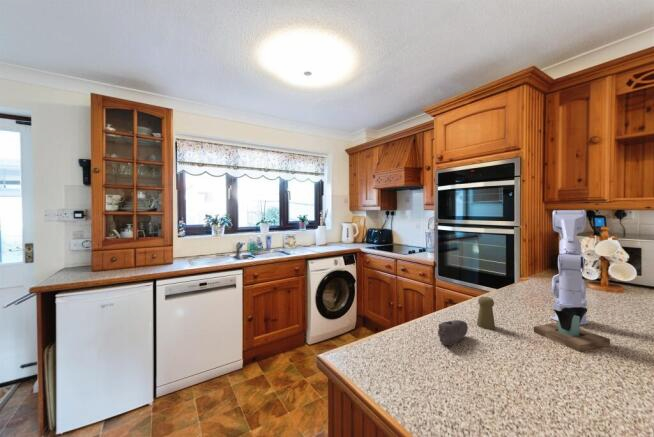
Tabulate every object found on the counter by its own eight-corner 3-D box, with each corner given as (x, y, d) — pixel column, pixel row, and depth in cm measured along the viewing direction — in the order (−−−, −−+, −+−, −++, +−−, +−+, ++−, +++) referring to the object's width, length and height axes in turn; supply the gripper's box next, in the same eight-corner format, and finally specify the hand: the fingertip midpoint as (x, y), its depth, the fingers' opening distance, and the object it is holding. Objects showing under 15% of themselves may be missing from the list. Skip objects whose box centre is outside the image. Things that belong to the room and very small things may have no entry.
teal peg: (565, 331, 93) (565, 312, 93) (579, 336, 90) (579, 316, 89) (558, 333, 92) (558, 313, 92) (571, 338, 88) (572, 318, 88)
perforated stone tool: (459, 332, 96) (460, 313, 95) (474, 338, 91) (474, 318, 91) (432, 343, 88) (432, 322, 88) (446, 350, 84) (446, 328, 83)
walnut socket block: (561, 327, 99) (561, 321, 99) (609, 345, 86) (610, 339, 86) (533, 332, 95) (533, 326, 95) (579, 351, 82) (579, 345, 82)
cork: (498, 330, 97) (498, 300, 97) (480, 328, 98) (480, 299, 98) (491, 323, 103) (491, 295, 103) (474, 322, 104) (474, 294, 104)
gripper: (569, 284, 96) (569, 320, 97) (543, 288, 91) (542, 326, 92) (594, 289, 90) (594, 328, 90) (567, 294, 85) (566, 335, 85)
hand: (569, 328), depth 90 cm, fingers closed on teal peg, 4 cm apart
